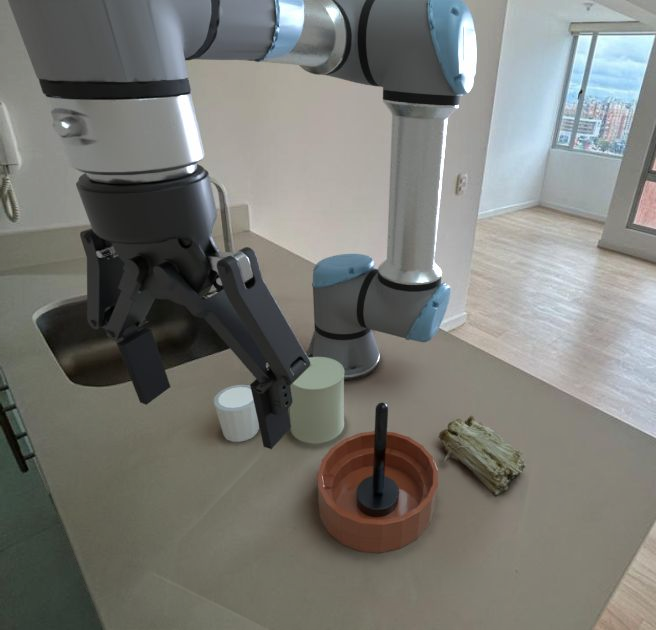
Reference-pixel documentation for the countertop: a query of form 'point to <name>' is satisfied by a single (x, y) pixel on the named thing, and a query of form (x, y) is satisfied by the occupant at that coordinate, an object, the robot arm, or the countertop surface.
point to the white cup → (237, 413)
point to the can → (318, 401)
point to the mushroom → (482, 453)
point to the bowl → (357, 464)
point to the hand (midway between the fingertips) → (213, 414)
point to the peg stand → (378, 474)
